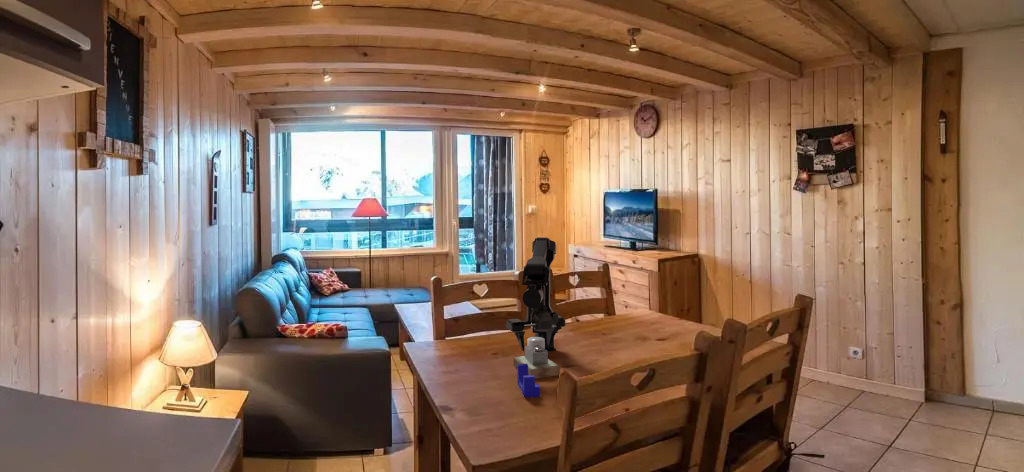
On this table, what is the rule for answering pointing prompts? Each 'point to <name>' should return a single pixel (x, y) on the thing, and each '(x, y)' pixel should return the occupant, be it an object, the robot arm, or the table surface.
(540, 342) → the light grey rounded cylinder
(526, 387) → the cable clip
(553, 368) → the stand
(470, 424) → the table surface
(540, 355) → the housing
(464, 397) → the table surface
